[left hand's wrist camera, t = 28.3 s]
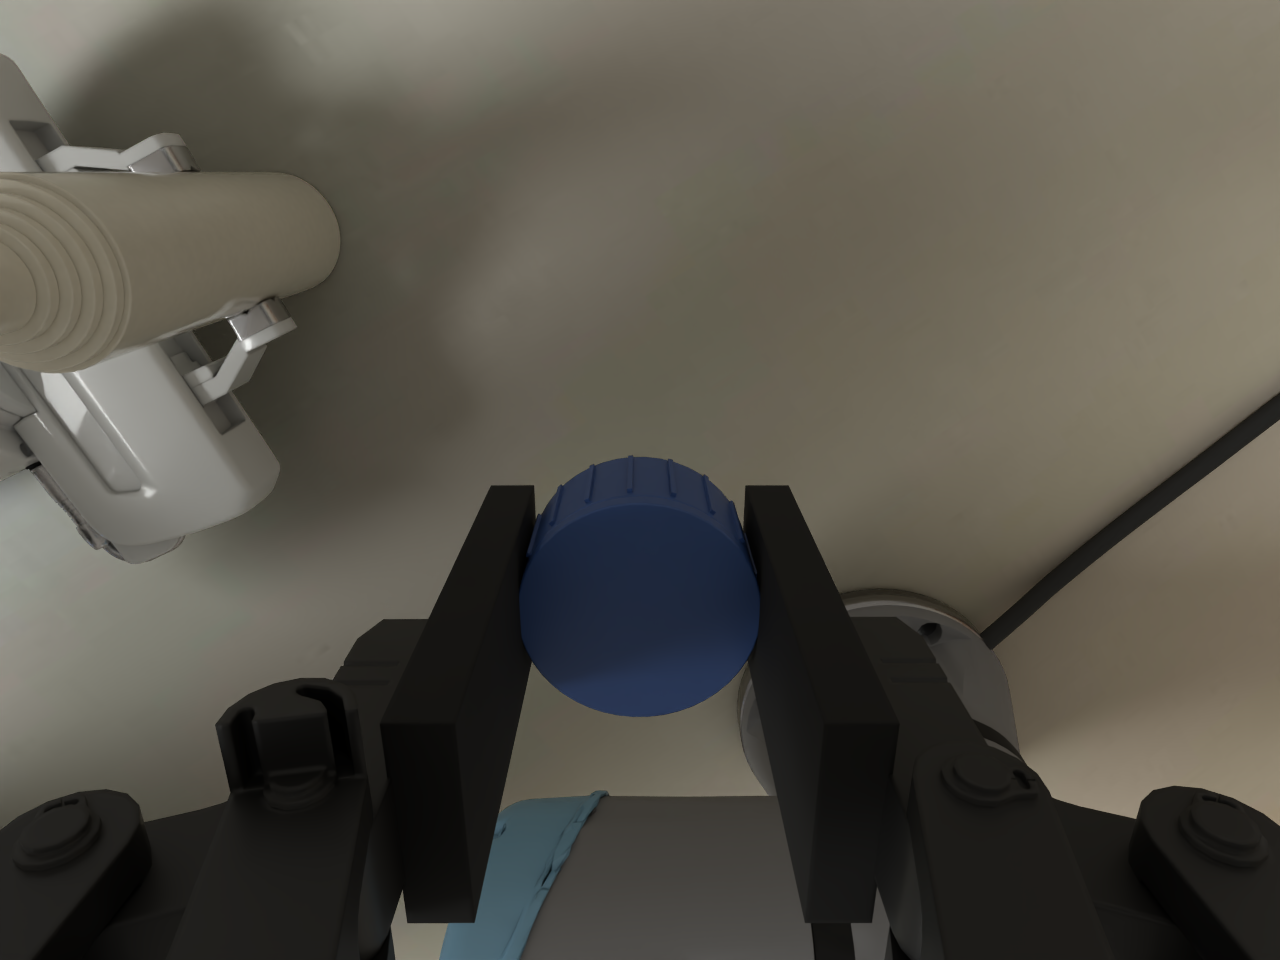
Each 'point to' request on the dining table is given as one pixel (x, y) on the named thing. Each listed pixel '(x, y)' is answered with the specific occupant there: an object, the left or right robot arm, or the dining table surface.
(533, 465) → the dining table surface
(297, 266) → the bottle
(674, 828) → the left robot arm
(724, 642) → the cap
